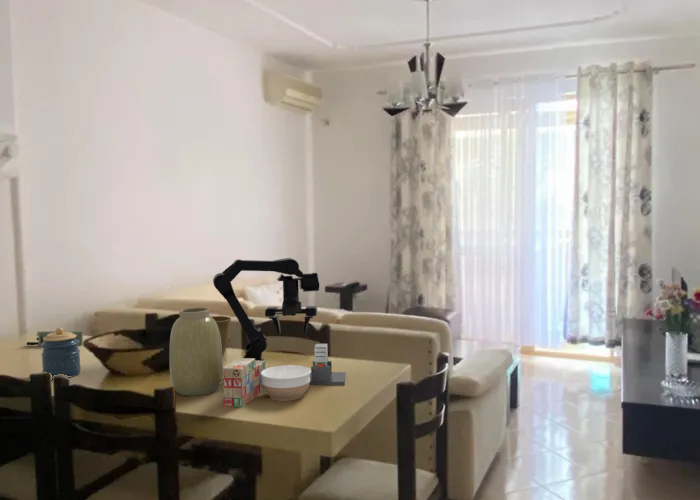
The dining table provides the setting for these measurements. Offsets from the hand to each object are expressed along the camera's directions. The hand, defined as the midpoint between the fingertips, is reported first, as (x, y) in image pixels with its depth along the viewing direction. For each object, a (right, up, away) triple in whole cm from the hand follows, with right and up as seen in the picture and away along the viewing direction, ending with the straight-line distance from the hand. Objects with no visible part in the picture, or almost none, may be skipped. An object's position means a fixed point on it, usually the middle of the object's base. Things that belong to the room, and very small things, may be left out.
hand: (292, 334), depth 239 cm
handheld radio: (-110, -12, +50) cm, 122 cm away
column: (+12, -10, -17) cm, 23 cm away
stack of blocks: (-12, -16, -31) cm, 37 cm away
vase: (-30, -16, -23) cm, 41 cm away
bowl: (+1, -16, -31) cm, 35 cm away
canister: (-85, -15, 0) cm, 86 cm away
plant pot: (-33, -12, +20) cm, 41 cm away
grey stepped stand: (+12, -14, -15) cm, 23 cm away
